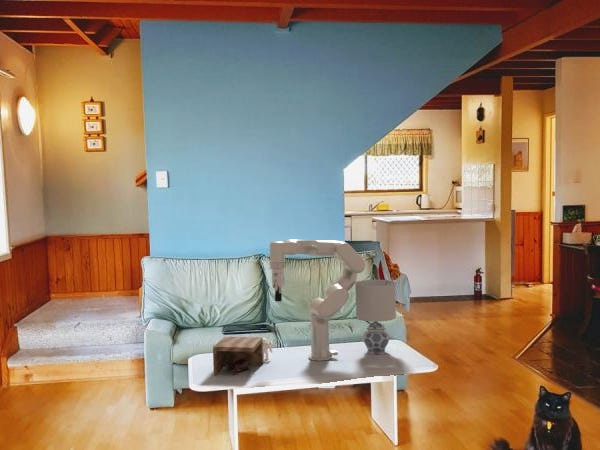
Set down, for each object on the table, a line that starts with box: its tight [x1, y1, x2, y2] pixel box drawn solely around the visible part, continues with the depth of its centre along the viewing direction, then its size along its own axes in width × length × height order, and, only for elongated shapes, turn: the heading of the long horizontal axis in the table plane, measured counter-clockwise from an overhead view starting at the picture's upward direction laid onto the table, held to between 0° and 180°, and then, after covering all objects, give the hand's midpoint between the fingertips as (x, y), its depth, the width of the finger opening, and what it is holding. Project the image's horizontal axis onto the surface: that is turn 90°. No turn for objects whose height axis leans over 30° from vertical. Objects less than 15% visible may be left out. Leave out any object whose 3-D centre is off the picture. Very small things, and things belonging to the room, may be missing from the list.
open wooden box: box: [212, 336, 264, 376], centre depth 289 cm, size 20×20×14 cm
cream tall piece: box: [262, 335, 274, 361], centre depth 307 cm, size 9×4×12 cm, turn 98°
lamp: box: [354, 279, 397, 355], centre depth 315 cm, size 22×22×38 cm
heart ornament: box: [230, 359, 251, 376], centre depth 288 cm, size 6×12×11 cm
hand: (278, 300), depth 299 cm, fingers closed
